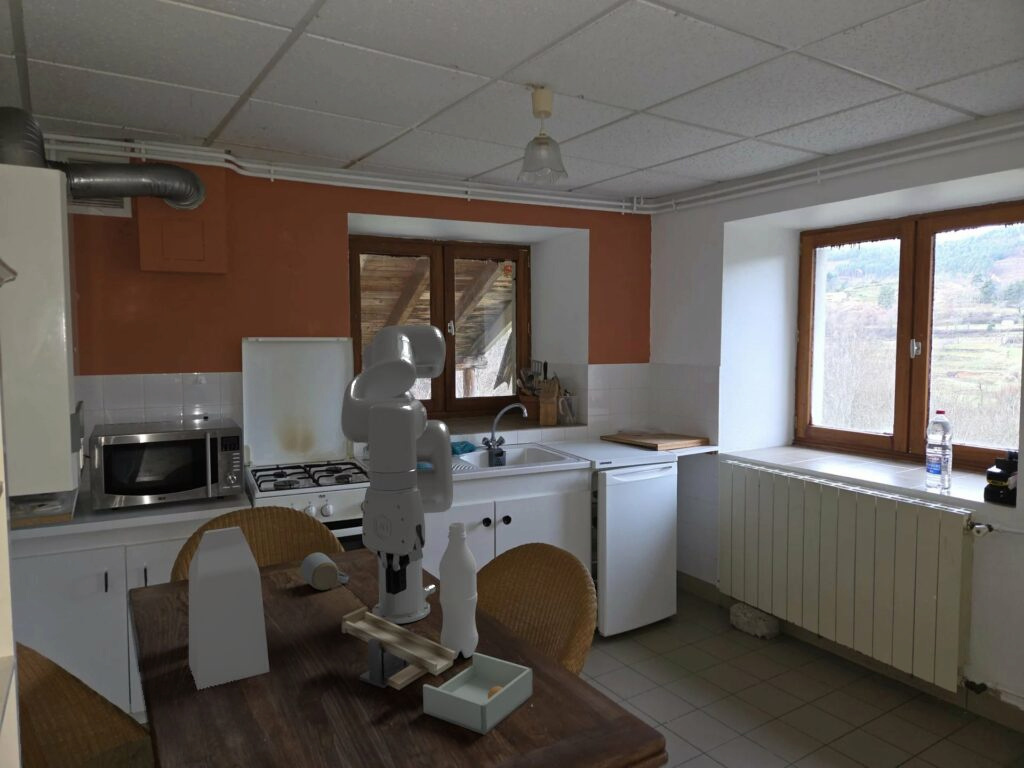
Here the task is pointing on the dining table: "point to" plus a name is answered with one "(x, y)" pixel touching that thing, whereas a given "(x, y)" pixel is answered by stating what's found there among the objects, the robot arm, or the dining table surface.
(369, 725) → the dining table surface
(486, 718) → the tray
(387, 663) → the fulcrum
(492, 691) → the ball
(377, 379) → the robot arm
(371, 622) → the lever
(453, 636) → the water bottle
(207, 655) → the milk
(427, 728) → the dining table surface
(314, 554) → the ceramic mug
